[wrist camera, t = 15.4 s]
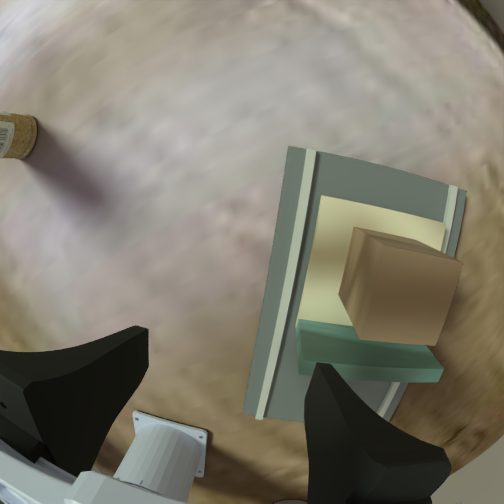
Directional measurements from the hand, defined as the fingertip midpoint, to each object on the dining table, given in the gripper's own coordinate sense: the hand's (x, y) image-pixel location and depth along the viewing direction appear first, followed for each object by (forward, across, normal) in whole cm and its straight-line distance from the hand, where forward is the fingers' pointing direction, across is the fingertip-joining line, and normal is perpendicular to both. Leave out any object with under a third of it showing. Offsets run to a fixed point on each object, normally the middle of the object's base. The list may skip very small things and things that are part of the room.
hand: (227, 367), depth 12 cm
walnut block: (+8, -8, -4) cm, 12 cm away
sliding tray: (+10, -8, -3) cm, 13 cm away
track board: (+10, -8, +1) cm, 13 cm away
